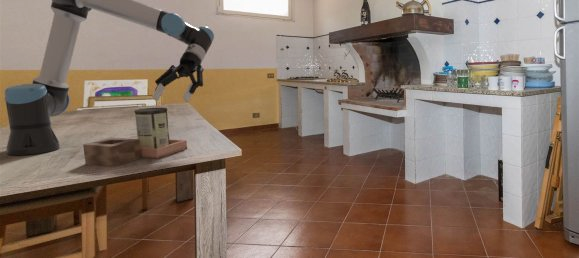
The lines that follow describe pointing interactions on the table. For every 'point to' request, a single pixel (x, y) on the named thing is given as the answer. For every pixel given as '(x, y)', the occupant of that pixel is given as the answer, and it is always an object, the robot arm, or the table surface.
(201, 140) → the table surface
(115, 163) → the brown square planter
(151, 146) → the coffee can
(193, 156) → the table surface
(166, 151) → the dish
